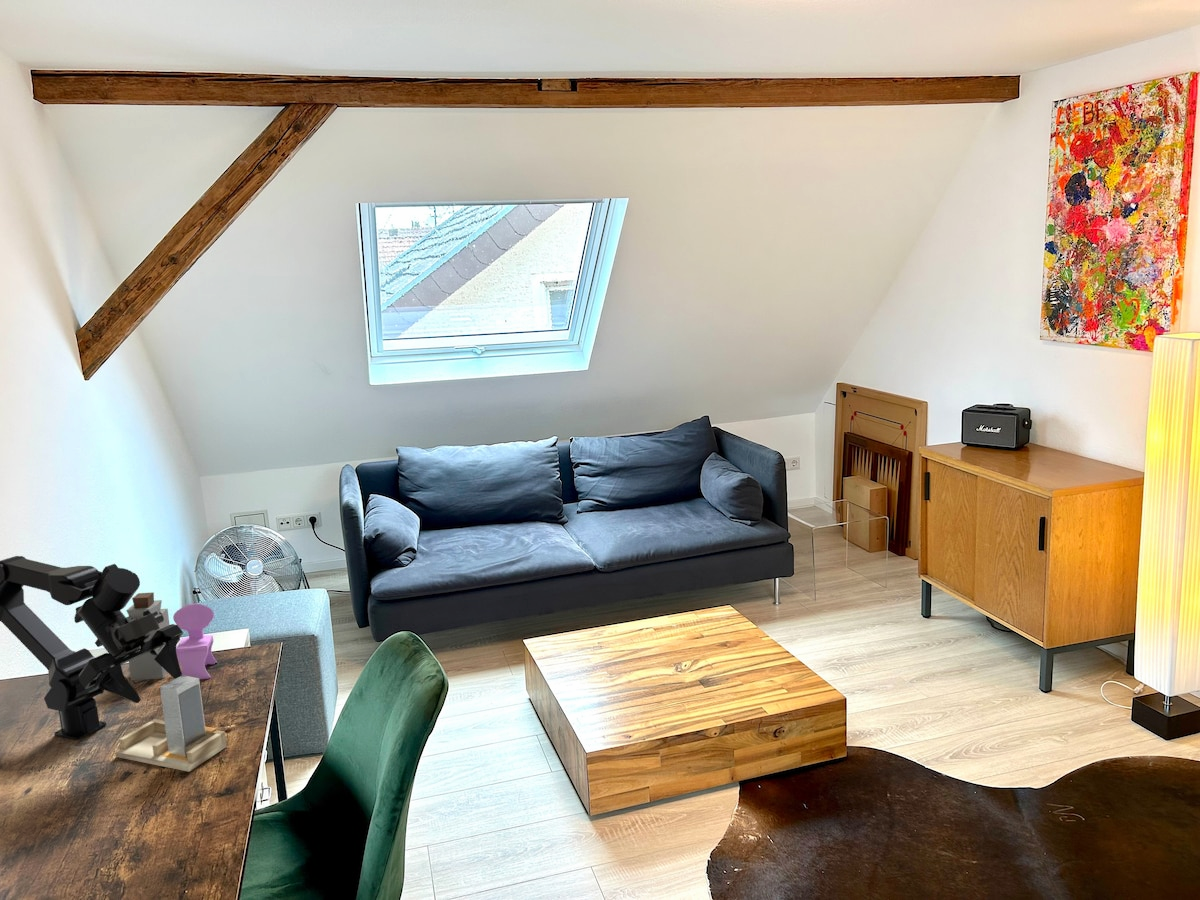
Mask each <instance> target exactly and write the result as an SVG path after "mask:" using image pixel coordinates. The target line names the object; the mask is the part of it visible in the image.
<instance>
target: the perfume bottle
mask: <svg viewBox="0 0 1200 900" xmlns="http://www.w3.org/2000/svg"><path fill="white" fill-rule="evenodd" d="M154 593H155V592H141V593H140V592H139V593H137V594H136V595H135V596H132V598H131V599H132V603H133V604H132V605H131V606H130V607H128V608H127V609H126V613H127V615H128V617H129V616H131V617H133V618H134V619H135V620H137V619H139V618H141V617H143V612H144V611H146V610H148V609H150V608H153V607H156V608H157V609H158V610H159V611H160V612H161V613H162V615H163V617H164V621H163V622H161V623H159V624H158V625H159V627H160V629H162V628H164V627H166V626H169V625H171V624H170V617H169V610H168V608H162V604H163V603H162V602H163V600H162V599H159V600H156V599H155V594H154ZM157 630H159V629H157ZM157 630H153V631H150V632H148V633H149V634H150V635H149V637H148V638H147V639H145V640H144V641H145V642H147V641H149V640H150V639H151V638H152V637H153V636H154V634H155V633H156V632H157ZM139 651H140V650H139ZM155 658H156V655H153V654H151V653H150V652H148V653H146V654H144V655H141V656H139V657H137V658H135V659H133V660H131V661H128V665H129V673H130V680H131V681H140V680H141V681H142V680H143V681H144V680H156V679H164V678H165V677H166V676H167V675H168V674H169V673H168V672H167V671H166V670H165V669H164V668H163V667H162V666H161V665H159V664H158V663H157V662H156V661H155V660H154V659H155Z"/></svg>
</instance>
